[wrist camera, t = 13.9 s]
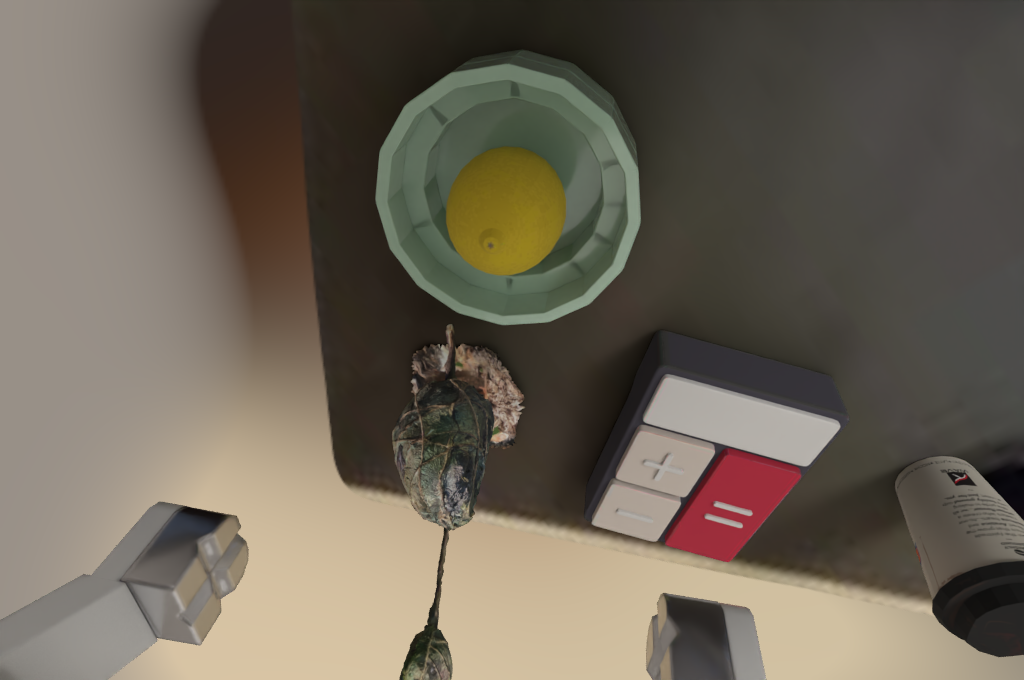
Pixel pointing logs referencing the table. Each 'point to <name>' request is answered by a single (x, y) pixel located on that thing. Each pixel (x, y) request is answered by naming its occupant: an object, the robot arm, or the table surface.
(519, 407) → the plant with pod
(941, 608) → the coffee cup
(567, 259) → the bowl
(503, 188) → the lemon
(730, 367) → the calculator
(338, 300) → the table surface
